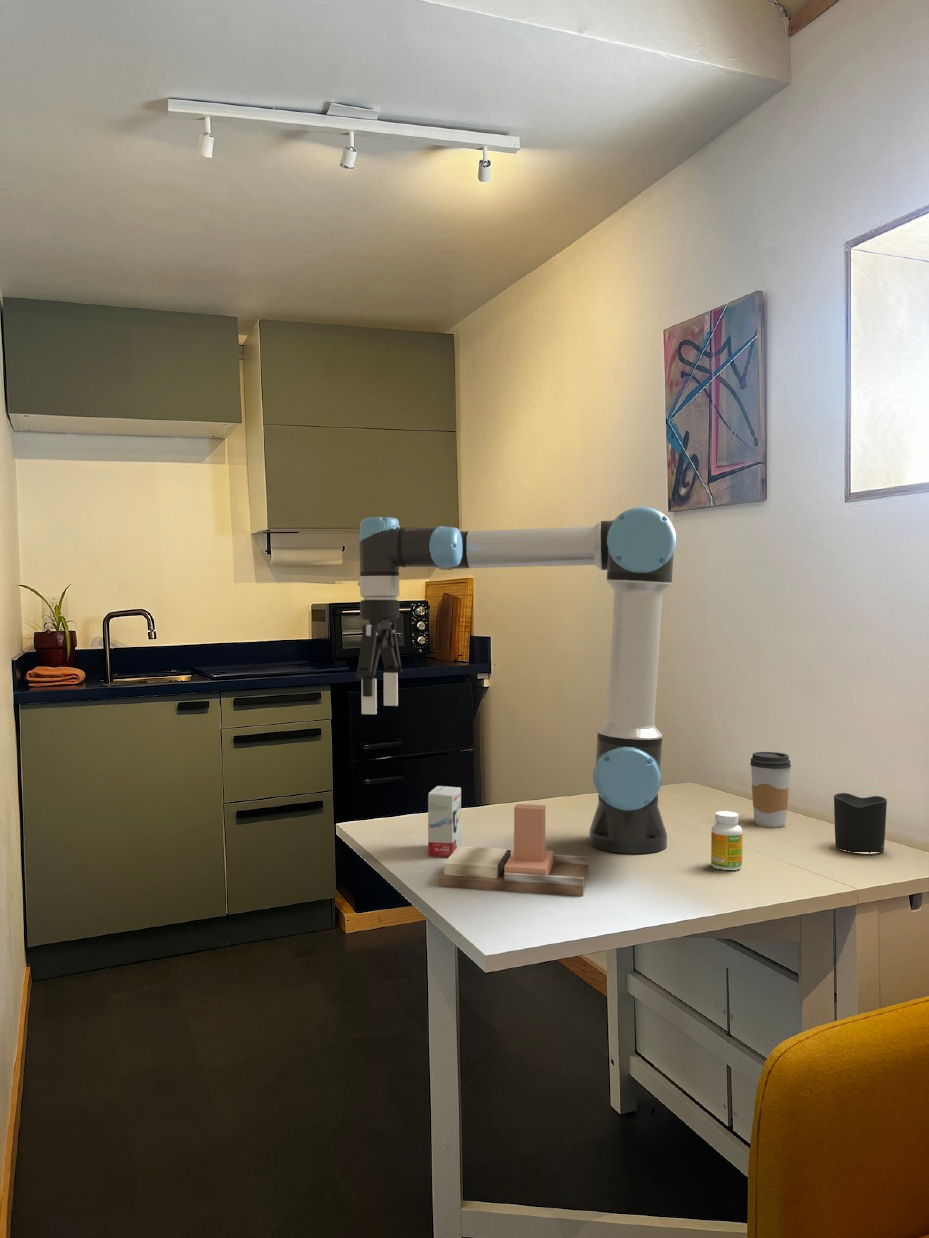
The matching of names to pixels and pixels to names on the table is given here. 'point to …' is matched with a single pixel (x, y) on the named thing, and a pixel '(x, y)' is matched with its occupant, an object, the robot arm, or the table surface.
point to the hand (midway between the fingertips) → (380, 709)
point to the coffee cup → (770, 788)
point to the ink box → (444, 821)
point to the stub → (529, 842)
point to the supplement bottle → (726, 842)
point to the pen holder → (859, 823)
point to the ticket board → (488, 873)
